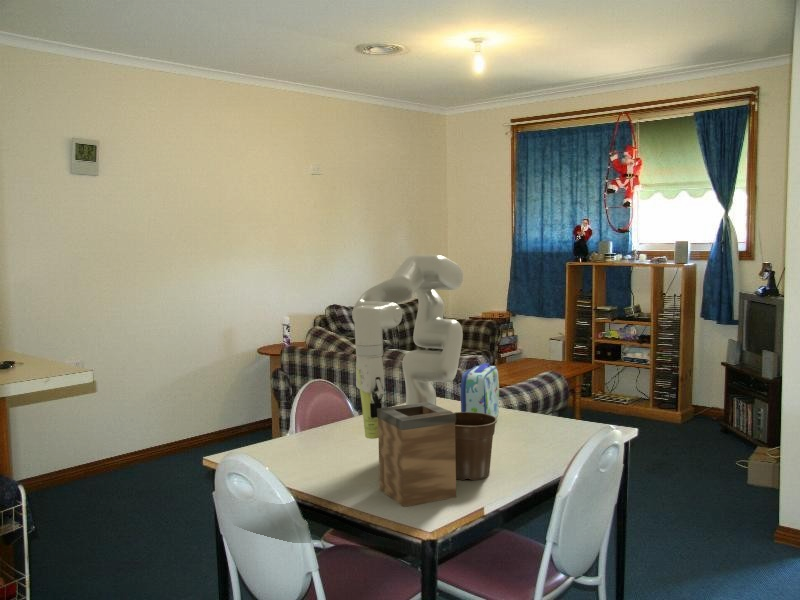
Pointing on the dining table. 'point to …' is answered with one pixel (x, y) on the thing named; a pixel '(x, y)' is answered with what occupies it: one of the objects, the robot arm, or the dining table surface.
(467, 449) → the plant pot
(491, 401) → the lunch box
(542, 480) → the dining table surface
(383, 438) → the socket
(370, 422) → the tube
